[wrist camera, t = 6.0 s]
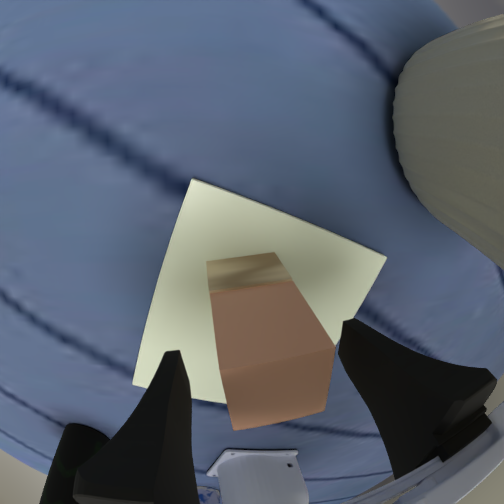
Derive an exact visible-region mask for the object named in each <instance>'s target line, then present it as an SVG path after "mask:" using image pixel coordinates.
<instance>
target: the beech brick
mask: <svg viewBox="0 0 504 504" xmlns="http://www.w3.org/2000/svg"><path fill="white" fill-rule="evenodd" d="M206 266H207V277H208V288H209V295H210V293H216V292H223V291H230V290H237V289H244V288H250V287H257V286H263V285H269V284H276V283H282V282H288V281H292V277H291V276H290V274H289V273H288V271H287V270H286V268H285V267H284V266H283V264H282V263H281V261H280V260H279V258H278V257H277V255H276V254H275V252H271V253H263V254H256V255H249V256H242V257H234V258H227V259H219V260H212V261H206ZM210 301H211V299H210Z"/></svg>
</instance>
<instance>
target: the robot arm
mask: <svg viewBox="0 0 504 504" xmlns="http://www.w3.org/2000/svg"><path fill="white" fill-rule="evenodd" d="M338 355H339V357H340V360H341V362H342V364H343V366H344V369H345V371H346V373H347V374H348V376H349V377H350V379H351V381H352V382H353V384H354V386H355V387H356V389H357V390H358V392H359V393H360V395H361V397H362V398H363V400H364V401H365V403H366V405H367V406H368V408H369V410H370V412H371V414H372V416H373V418H374V420H375V423H376V425H377V427H378V430H379V432H380V435H381V437H382V439H383V442H384V445H385V448H386V451H387V453H388V456H389V460H390V463H391V466H392V470H393V474H394V477H395V481H393V482H391V483H389V484H387V485H384V486H382V487H380V488H378V489H376V490H374V491H371V492H369V493H367V494H364V495H362V496H359V497H357V498H354V499H352V500H349V501H346V502H344V503H341V504H382V503H384V502H386V501H388V500H390V499H392V498H394V497H396V496H398V495H400V494H402V493H404V492H406V491H408V490H409V489H411V488H413V487H415V486H416V487H415V488H414V489H412V490H410V491H409V492H407V493H406V494H404V495H402V496H401V497H399V499H398V500H397V501H395V502H394V503H393V504H456V503H457V502H458V501H460V500H461V499H462V498H463V497H465V496H466V495H467V494H468V493H469V492H470V491H472V490H473V489H474V488H475V487H476V486H477V485H479V484H480V483H481V482H482V481H483V480H484V479H485V478H486V477H487V476H488V475H489V474H490V473H491V472H492V471H493V470H494V469H495V468H496V467H497V466H498V465H499V464H500V463H501V462H502V461H503V460H504V401H503V402H502V403H501V404H500V405H499V406H498V407H496V408H495V409H494V410H493V411H492V412H491V413H490V414H489V415H488V416H487V415H486V414H485V412H486V407H485V406H484V403H485V402H486V400H487V399H488V397H489V396H490V394H491V393H492V392H493V390H494V388H495V386H496V384H497V379H496V378H495V377H494V376H493V375H492V374H491V372H490V371H489V370H488V369H486V368H475V367H466V366H461V365H455V364H451V363H447V362H443V361H440V360H436V359H433V358H430V357H428V356H425V355H422V354H420V353H417V352H415V351H413V350H411V349H409V348H407V347H405V346H403V345H401V344H399V343H397V342H395V341H393V340H391V339H389V338H388V337H386V336H384V335H383V334H381V333H379V332H377V331H376V330H374V329H372V328H371V327H369V326H368V325H366V324H364V323H362V322H361V321H359V320H357V319H355V318H353V319H349V320H345V321H343V324H342V331H341V338H340V344H339V351H338ZM191 424H192V399H191V389H190V381H189V378H188V375H187V371H186V368H185V365H184V362H183V359H182V355H181V352H180V350H173V351H166V352H165V353H164V355H163V357H162V359H161V362H160V364H159V366H158V368H157V371H156V373H155V375H154V377H153V379H152V381H151V383H150V384H149V386H148V388H147V390H146V392H145V394H144V395H143V397H142V399H141V400H140V402H139V404H138V405H137V407H136V408H135V410H134V411H133V413H132V414H131V416H130V417H129V418H128V420H127V421H126V422H125V424H124V425H123V426H122V427H121V428H120V430H119V431H118V432H117V433H116V434H115V436H114V437H113V438H112V439H111V440H110V441H109V442H108V443H107V444H106V445H105V446H104V447H103V448H102V449H101V450H100V451H99V452H97V453H96V454H95V455H94V456H93V457H91V458H90V459H89V460H88V461H86V462H85V463H84V464H82V465H81V466H80V467H78V469H77V472H76V476H75V482H74V490H73V498H74V499H75V500H76V502H78V503H79V504H200V500H199V495H198V490H197V485H196V478H195V472H194V465H193V458H192V446H191ZM297 454H298V451H297V450H282V451H256V450H232V449H228V450H225V451H224V452H223V453H222V454H221V456H220V457H219V458H218V459H217V461H216V462H215V463H214V464H213V466H212V467H211V468H210V469H209V470H208V472H207V476H213V477H218V480H219V486H220V492H221V498H222V504H308V502H309V495H308V490H307V487H306V485H305V482H304V479H303V476H302V473H301V471H300V468H299V465H298V462H297V459H296V455H297Z"/></svg>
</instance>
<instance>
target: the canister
mask: <svg viewBox="0 0 504 504" xmlns="http://www.w3.org/2000/svg"><path fill="white" fill-rule="evenodd" d="M393 106H394V112H393V116H392V119H393V122H394V131H393V134H394V136H395V141H396V146H395V147H396V149H397V151H398V154H399V162H400V164H401V165H402V167H403V170H404V175H405V178H406V179H407V180H408V181H409V184H410V187H411V189H412V191H413V192H414V193H415V194H416V195H417V197H418V199H419V201H420V202H421V203H422V205H423V206H424V207H425V208H427V209H428V211H429V212H430V213H431V214H432V215H433V216H434V217H435V218H436V219H438V220H439V221H440V222H442V223H443V224H444V225H446V226H447V227H449V228H450V229H451V230H453V231H454V232H455V233H457V234H458V235H460V236H461V237H462V238H464V239H465V240H466V241H468V242H469V243H470V244H471V245H473V246H474V247H475V248H477V249H478V250H479V251H480V252H482V253H483V254H484V255H486V256H487V257H488V258H489V259H491V260H492V261H493V262H494V263H496V264H497V265H498V266H499V267H501V268H502V269H503V270H504V14H501V15H497V16H494V17H490V18H487V19H484V20H481V21H478V22H475V23H472V24H470V25H467V26H465V27H462V28H460V29H457V30H455V31H452V32H450V33H448V34H446V35H443V36H441V37H439V38H437V39H435V40H433V41H431V42H429V43H427V44H426V45H424V46H423V47H422V48H420V49H419V50H417V51H416V52H415V53H414V54H413V55H412V57H411V58H410V60H409V61H408V62H407V63H406V64H405V65H404V68H403V72H402V73H401V74H400V75H399V78H398V85H397V86H396V88H395V99H394V101H393Z"/></svg>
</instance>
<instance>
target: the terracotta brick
mask: <svg viewBox="0 0 504 504" xmlns="http://www.w3.org/2000/svg"><path fill="white" fill-rule="evenodd" d="M210 299H211V308H212V317H213V325H214V333H215V341H216V349H217V357H218V364H219V371H220V376H221V380H222V384H223V389H224V393H225V398H226V402H227V406H228V410H229V414H230V418H231V422H232V426H233V430H234V431H236V430H242V429H248V428H254V427H259V426H264V425H269V424H274V423H279V422H283V421H288V420H292V419H296V418H300V417H304V416H308V415H311V414H315V413H319V412H322V411H324V410H325V406H326V401H327V395H328V390H329V385H330V379H331V374H332V368H333V362H334V355H335V349H336V346H335V345H334V343H333V342H332V340H331V338H330V337H329V335H328V334H327V332H326V331H325V329H324V328H323V326H322V325H321V323H320V321H319V320H318V318H317V317H316V315H315V314H314V312H313V311H312V309H311V308H310V306H309V305H308V303H307V302H306V300H305V298H304V297H303V295H302V294H301V292H300V291H299V289H298V288H297V286H296V285H295V283H294V282H293V281H288V282H282V283H276V284H269V285H263V286H257V287H250V288H244V289H237V290H230V291H223V292H216V293H210Z"/></svg>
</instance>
